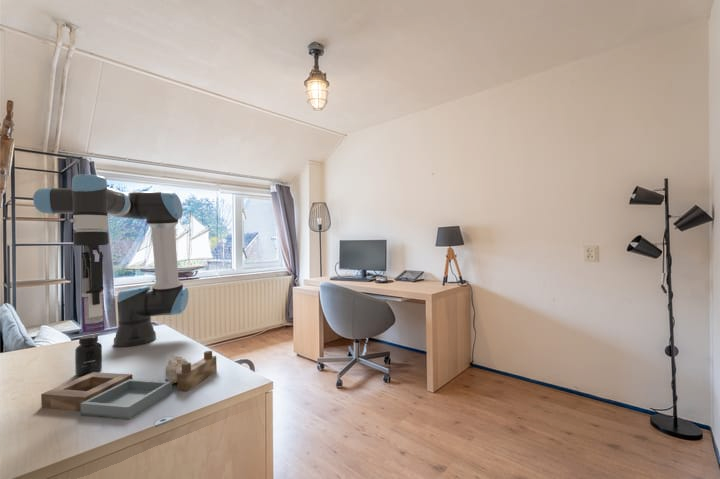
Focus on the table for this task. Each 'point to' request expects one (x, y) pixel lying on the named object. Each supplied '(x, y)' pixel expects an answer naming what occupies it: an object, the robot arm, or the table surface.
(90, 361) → the supplement bottle
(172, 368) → the stone
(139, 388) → the tray
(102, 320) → the container
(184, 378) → the bar
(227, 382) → the table surface
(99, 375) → the block
